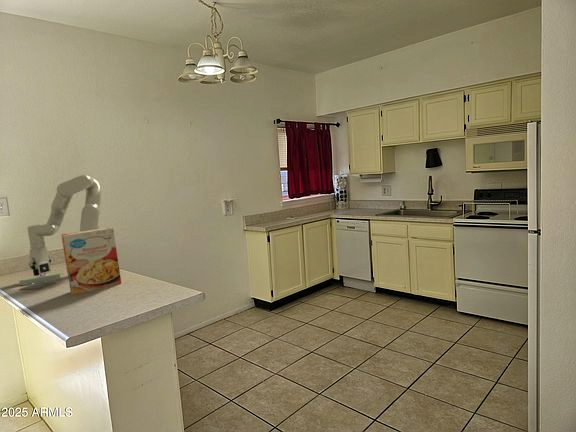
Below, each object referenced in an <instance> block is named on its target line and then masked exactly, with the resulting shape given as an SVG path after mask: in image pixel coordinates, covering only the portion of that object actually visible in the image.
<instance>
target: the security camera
mask: <svg viewBox="0 0 576 432" xmlns="http://www.w3.org/2000/svg"><path fill="white" fill-rule="evenodd" d="M37 269H38V271H39V275H38V276H36V277H35V278H37V277H43V276H49V274H47V273H50V272H51V271H52V270H50V269H51V264H49V262H43V263H40V264H38V268H37Z"/></svg>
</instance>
